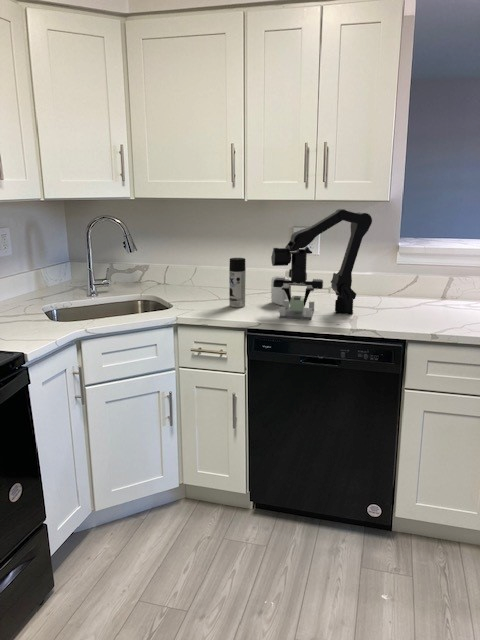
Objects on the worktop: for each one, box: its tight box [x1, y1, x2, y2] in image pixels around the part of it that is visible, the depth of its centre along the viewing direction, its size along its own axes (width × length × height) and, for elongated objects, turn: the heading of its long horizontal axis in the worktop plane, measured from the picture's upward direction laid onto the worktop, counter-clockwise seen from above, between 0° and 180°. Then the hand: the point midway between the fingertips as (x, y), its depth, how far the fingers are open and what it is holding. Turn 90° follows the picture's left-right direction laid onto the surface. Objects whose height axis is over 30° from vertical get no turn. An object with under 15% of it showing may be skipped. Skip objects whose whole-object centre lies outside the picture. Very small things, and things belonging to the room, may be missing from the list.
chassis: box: [278, 300, 315, 321], centre depth 202 cm, size 12×15×4 cm
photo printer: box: [270, 274, 291, 307], centre depth 219 cm, size 10×4×12 cm, turn 29°
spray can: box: [228, 257, 247, 309], centre depth 213 cm, size 7×7×20 cm
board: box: [290, 295, 306, 311], centre depth 201 cm, size 5×9×5 cm, turn 168°
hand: (297, 305), depth 201 cm, fingers closed on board, 5 cm apart
